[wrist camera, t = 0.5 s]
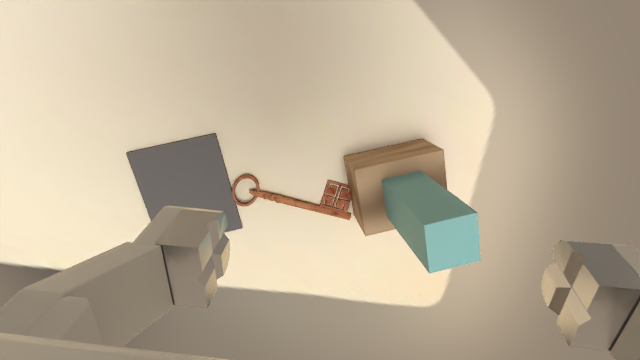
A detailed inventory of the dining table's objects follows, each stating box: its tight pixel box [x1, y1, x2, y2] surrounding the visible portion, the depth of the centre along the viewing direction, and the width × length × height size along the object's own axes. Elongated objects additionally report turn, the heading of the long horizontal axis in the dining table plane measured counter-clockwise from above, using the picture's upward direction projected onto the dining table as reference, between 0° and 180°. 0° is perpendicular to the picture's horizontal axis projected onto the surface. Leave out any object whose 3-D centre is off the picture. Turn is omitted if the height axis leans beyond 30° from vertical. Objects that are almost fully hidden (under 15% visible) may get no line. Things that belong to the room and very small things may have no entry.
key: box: [232, 175, 351, 220], centre depth 48 cm, size 6×1×15 cm
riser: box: [344, 139, 447, 236], centre depth 46 cm, size 8×10×6 cm
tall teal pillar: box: [382, 171, 480, 273], centre depth 38 cm, size 4×4×12 cm
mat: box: [126, 133, 242, 232], centre depth 46 cm, size 12×10×1 cm
